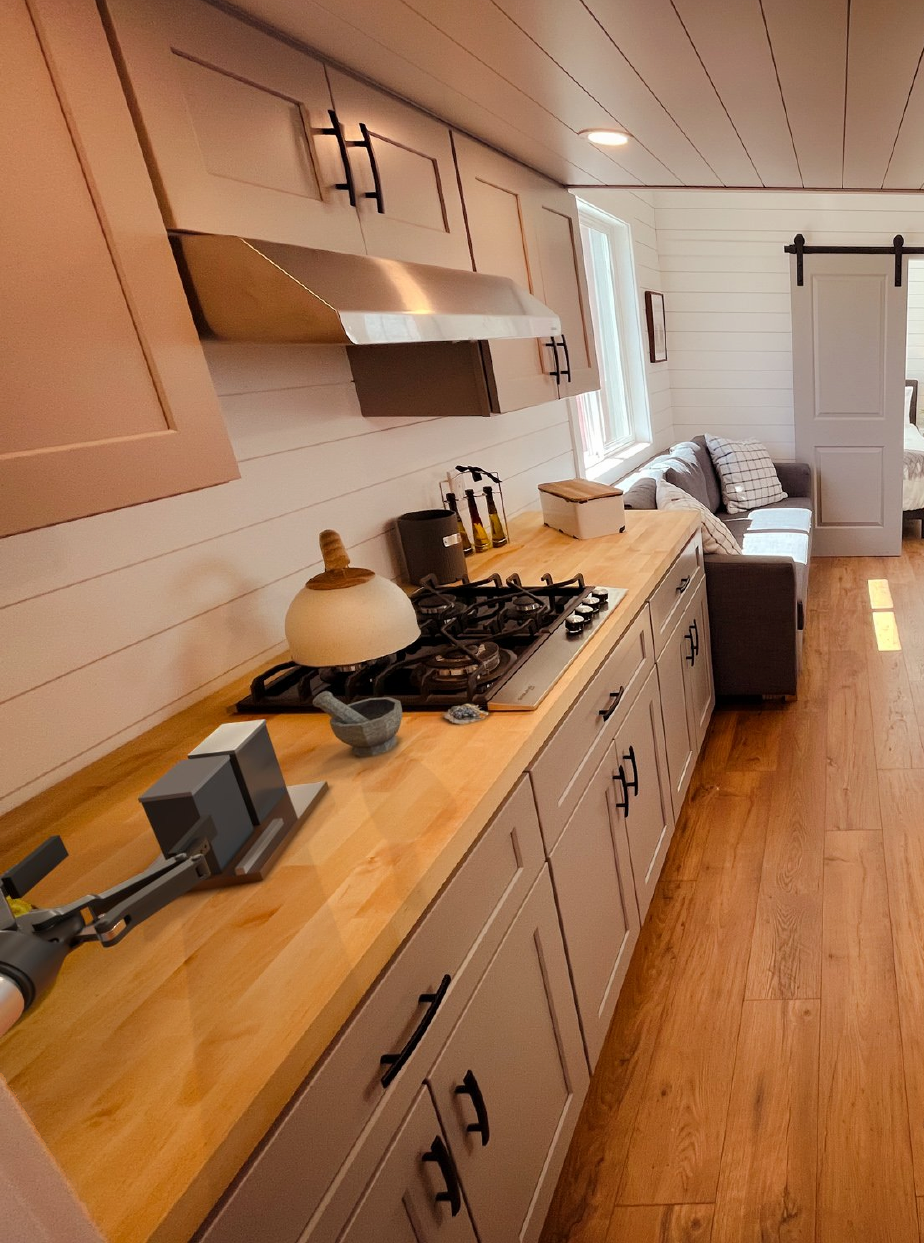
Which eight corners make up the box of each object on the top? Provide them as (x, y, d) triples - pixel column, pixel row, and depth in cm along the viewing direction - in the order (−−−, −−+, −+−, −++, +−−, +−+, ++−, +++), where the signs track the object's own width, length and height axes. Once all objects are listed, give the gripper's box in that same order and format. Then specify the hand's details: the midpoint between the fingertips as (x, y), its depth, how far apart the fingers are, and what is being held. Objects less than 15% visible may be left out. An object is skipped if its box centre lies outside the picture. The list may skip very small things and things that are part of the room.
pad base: (126, 903, 83) (84, 810, 79) (219, 803, 101) (189, 723, 97) (263, 881, 87) (231, 791, 82) (329, 788, 105) (305, 710, 100)
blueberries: (461, 704, 130) (459, 695, 129) (499, 708, 129) (497, 699, 128) (434, 722, 124) (432, 713, 123) (475, 727, 122) (473, 717, 122)
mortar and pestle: (401, 726, 122) (386, 665, 118) (416, 746, 116) (401, 683, 112) (324, 750, 115) (304, 686, 111) (336, 774, 109) (316, 706, 104)
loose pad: (172, 881, 85) (137, 798, 81) (210, 838, 92) (180, 760, 88) (222, 873, 86) (191, 791, 82) (256, 831, 94) (229, 754, 89)
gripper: (-209, 1068, 56) (7, 882, 75) (167, 996, 63) (278, 842, 82) (-260, 1000, 53) (-23, 826, 72) (138, 932, 60) (259, 789, 79)
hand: (137, 834), depth 77 cm, fingers open, 13 cm apart
